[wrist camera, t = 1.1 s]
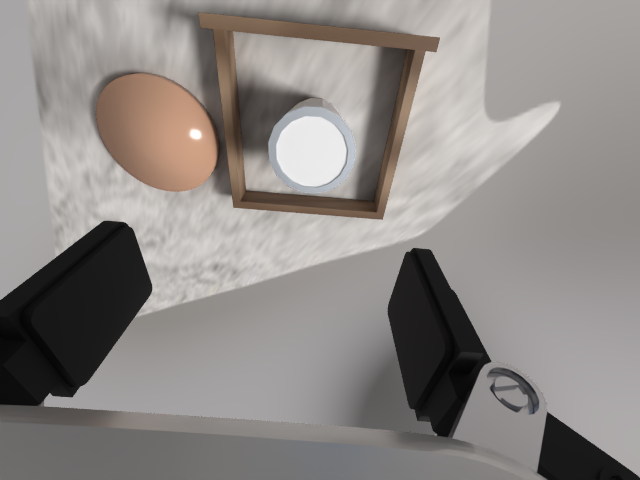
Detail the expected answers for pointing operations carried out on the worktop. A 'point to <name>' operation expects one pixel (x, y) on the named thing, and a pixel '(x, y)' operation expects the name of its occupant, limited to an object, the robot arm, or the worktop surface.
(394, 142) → the frame
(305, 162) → the white cup
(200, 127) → the tan flat disc
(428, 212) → the worktop surface
